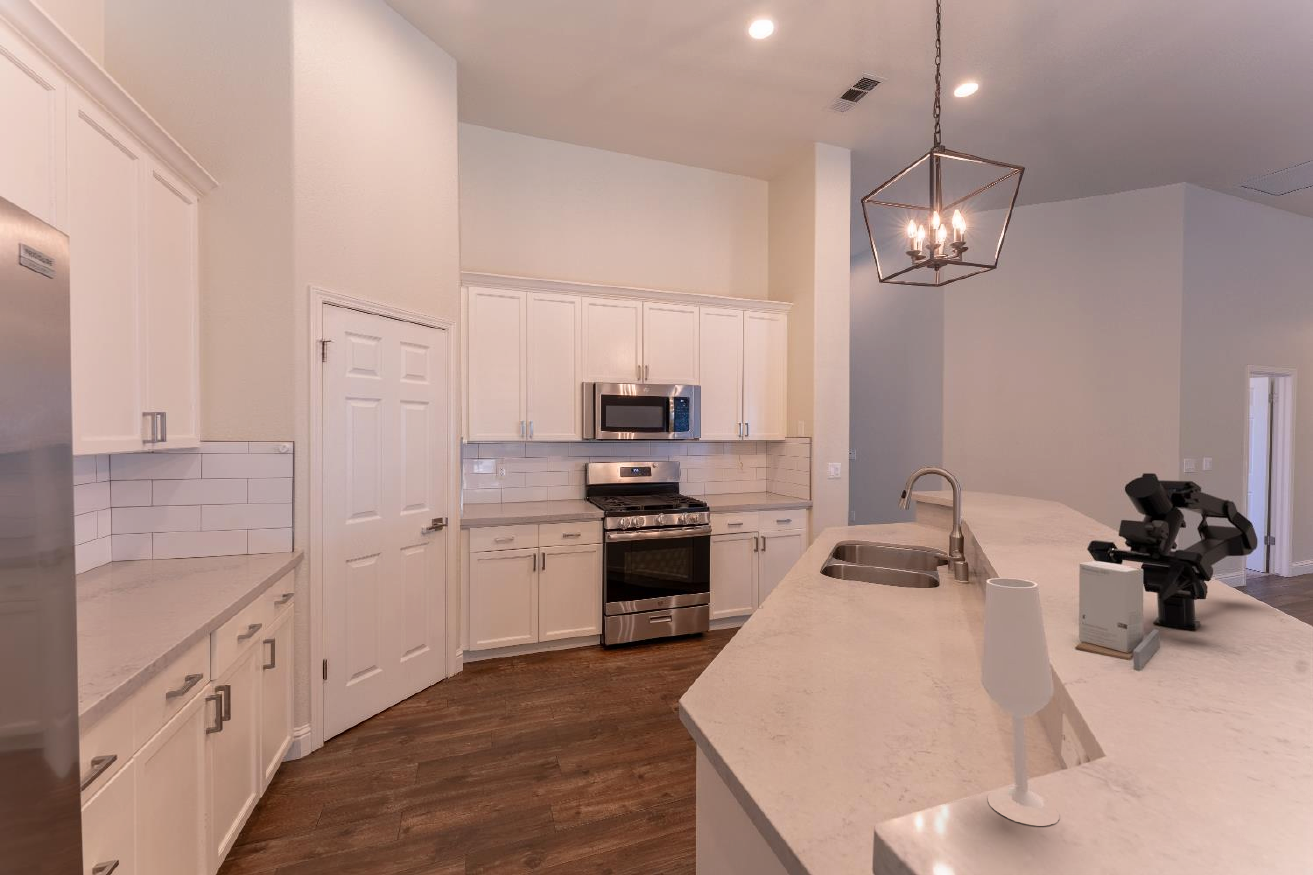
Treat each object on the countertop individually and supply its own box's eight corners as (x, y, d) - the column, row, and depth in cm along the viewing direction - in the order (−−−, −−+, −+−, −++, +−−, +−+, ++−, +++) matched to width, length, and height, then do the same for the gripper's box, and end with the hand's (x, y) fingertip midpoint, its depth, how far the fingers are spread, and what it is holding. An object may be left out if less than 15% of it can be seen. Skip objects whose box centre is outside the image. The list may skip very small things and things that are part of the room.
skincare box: (1078, 641, 112) (1074, 562, 112) (1096, 636, 114) (1092, 559, 115) (1130, 654, 104) (1126, 570, 104) (1148, 648, 107) (1143, 566, 107)
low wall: (1154, 645, 109) (1153, 629, 109) (1159, 646, 109) (1159, 630, 109) (1133, 669, 99) (1133, 651, 99) (1140, 670, 98) (1139, 652, 98)
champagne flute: (1058, 799, 64) (1047, 578, 65) (1061, 834, 59) (1049, 592, 59) (988, 782, 68) (978, 574, 68) (984, 814, 62) (974, 586, 63)
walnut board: (1092, 635, 116) (1092, 633, 116) (1144, 644, 110) (1143, 642, 110) (1075, 649, 109) (1075, 646, 109) (1129, 659, 103) (1129, 657, 103)
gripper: (1089, 501, 124) (1061, 560, 119) (1202, 508, 108) (1175, 576, 103) (1112, 535, 128) (1085, 593, 123) (1224, 546, 111) (1199, 614, 106)
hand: (1132, 593), depth 113 cm, fingers open, 9 cm apart
